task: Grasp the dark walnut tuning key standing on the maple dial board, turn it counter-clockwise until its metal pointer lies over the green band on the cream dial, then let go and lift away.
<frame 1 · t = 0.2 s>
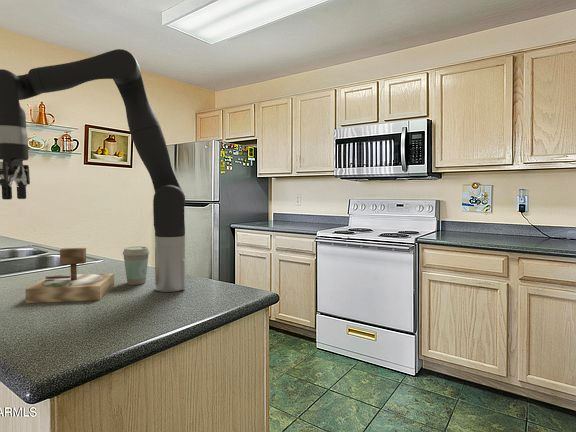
hand: (14, 199, 109), 28 cm above the counter, fingers open, 8 cm apart
tuning key: (65, 264, 113), point 9 cm above the counter, hinge at 0.0°
coffee cup: (136, 283, 128), on the counter
dial board: (74, 293, 114), on the counter
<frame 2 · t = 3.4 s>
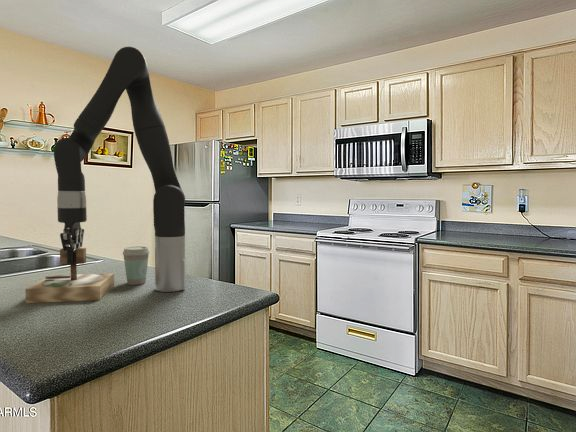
hand: (73, 263, 113), 9 cm above the counter, fingers closed on tuning key, 2 cm apart
tuning key: (65, 264, 113), point 9 cm above the counter, hinge at 0.0°, touching gripper
everything else where it was.
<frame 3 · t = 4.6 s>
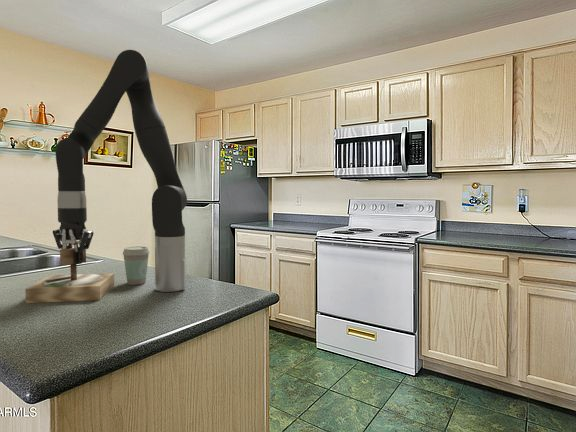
hand: (73, 263, 113), 9 cm above the counter, fingers closed on tuning key, 3 cm apart
tuning key: (66, 265, 111), point 9 cm above the counter, hinge at 46.1°, touching gripper
everything else where it was.
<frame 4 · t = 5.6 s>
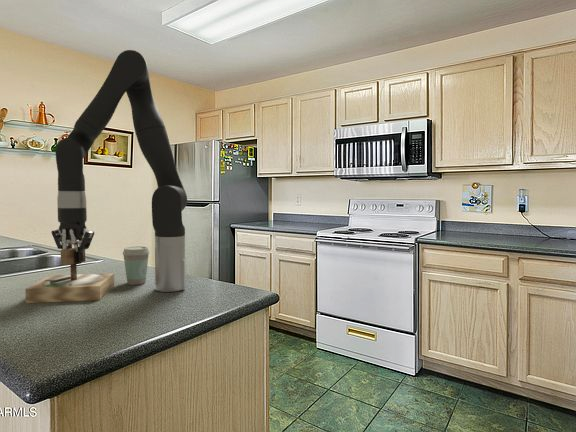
hand: (73, 263, 113), 9 cm above the counter, fingers closed on tuning key, 2 cm apart
tuning key: (67, 265, 111), point 9 cm above the counter, hinge at 58.3°, touching gripper
everything else where it was.
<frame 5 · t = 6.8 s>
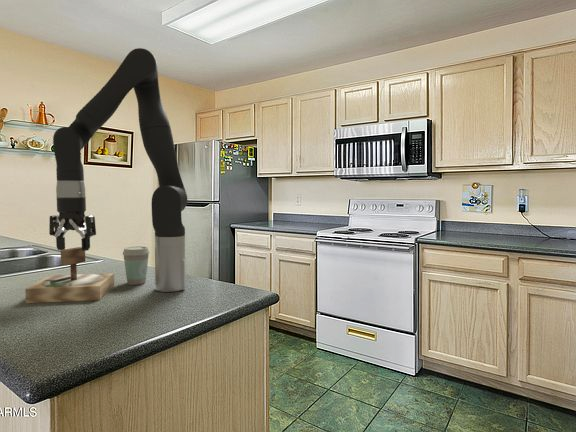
hand: (73, 250, 113), 13 cm above the counter, fingers open, 8 cm apart
tuning key: (67, 265, 111), point 9 cm above the counter, hinge at 58.8°
everything else where it was.
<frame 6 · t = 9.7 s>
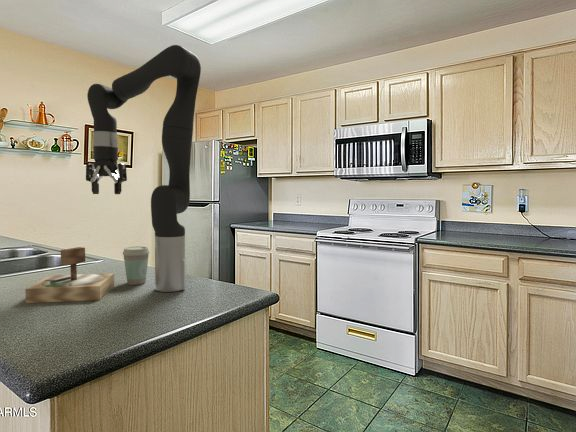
hand: (106, 194, 128), 30 cm above the counter, fingers open, 8 cm apart
nothing on the counter moved.
at the end: tuning key at +59° (first picture: +0°); the gripper is holding nothing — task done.
